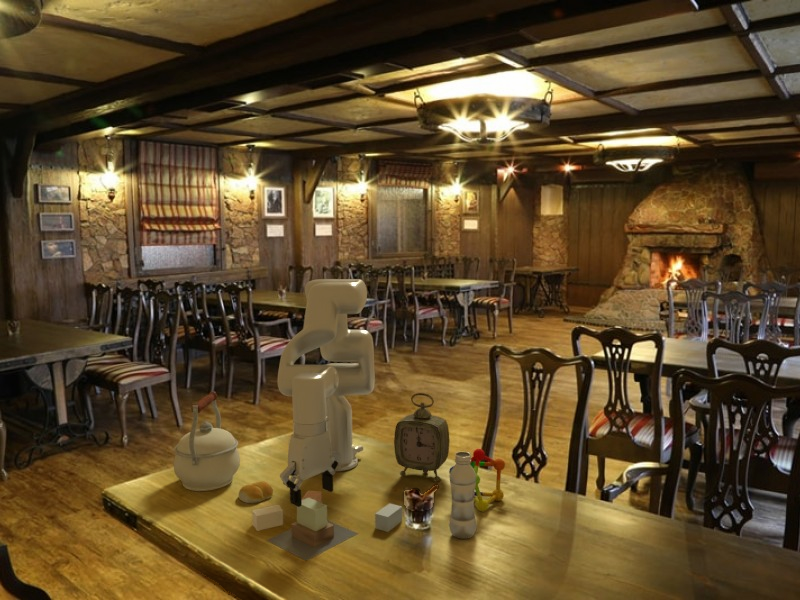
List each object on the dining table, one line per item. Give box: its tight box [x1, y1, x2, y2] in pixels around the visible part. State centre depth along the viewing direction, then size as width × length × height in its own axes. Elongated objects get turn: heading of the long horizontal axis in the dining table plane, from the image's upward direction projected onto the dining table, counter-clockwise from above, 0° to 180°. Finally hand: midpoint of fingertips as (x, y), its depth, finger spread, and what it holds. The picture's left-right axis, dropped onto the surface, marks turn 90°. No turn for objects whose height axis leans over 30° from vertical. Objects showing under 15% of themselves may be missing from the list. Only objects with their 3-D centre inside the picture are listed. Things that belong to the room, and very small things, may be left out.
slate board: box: [266, 519, 359, 562], centre depth 149 cm, size 16×14×1 cm
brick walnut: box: [291, 521, 334, 547], centre depth 148 cm, size 6×8×3 cm
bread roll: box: [238, 481, 274, 504], centre depth 174 cm, size 8×9×4 cm
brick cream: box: [251, 504, 284, 532], centre depth 155 cm, size 6×4×5 cm, turn 119°
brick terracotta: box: [301, 490, 323, 503], centre depth 162 cm, size 6×4×5 cm, turn 169°
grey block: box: [374, 502, 403, 533], centre depth 154 cm, size 6×4×5 cm, turn 149°
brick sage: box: [296, 497, 328, 531], centre depth 148 cm, size 6×4×5 cm, turn 49°
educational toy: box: [448, 448, 506, 512], centre depth 168 cm, size 16×13×15 cm
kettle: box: [173, 391, 241, 492], centre depth 184 cm, size 25×18×25 cm
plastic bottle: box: [448, 451, 478, 540], centre depth 150 cm, size 6×7×20 cm
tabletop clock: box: [393, 392, 451, 483], centre depth 186 cm, size 14×9×25 cm, turn 67°
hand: (312, 497), depth 148 cm, fingers open, 9 cm apart
